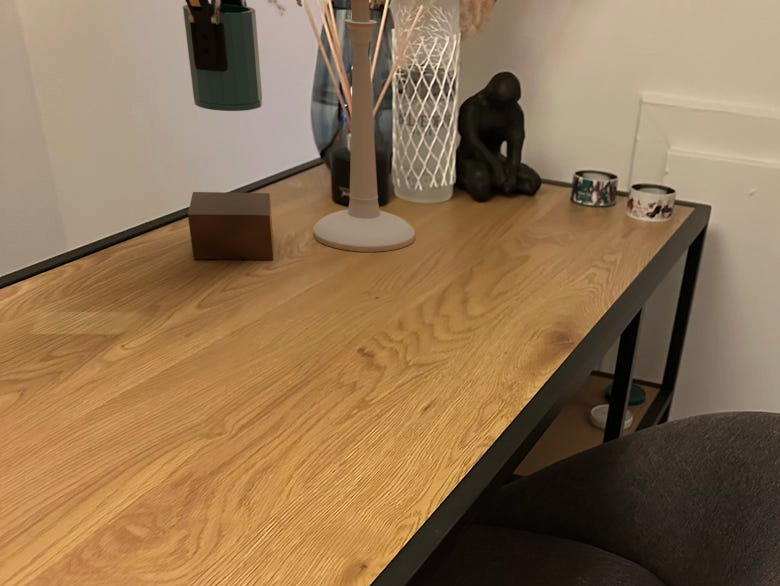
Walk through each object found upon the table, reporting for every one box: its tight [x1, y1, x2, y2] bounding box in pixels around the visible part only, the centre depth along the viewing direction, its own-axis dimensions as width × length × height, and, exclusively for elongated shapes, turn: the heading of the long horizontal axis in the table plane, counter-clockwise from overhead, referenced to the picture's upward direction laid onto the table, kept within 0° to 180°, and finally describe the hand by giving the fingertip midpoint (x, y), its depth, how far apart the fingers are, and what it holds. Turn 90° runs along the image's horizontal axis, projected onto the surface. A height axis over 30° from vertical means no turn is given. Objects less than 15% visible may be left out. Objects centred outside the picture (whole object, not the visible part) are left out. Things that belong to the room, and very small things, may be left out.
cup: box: [182, 2, 263, 112], centre depth 97 cm, size 7×7×8 cm
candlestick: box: [312, 0, 416, 253], centre depth 109 cm, size 13×13×30 cm
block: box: [187, 191, 274, 261], centre depth 110 cm, size 9×9×5 cm
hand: (223, 62), depth 97 cm, fingers closed on cup, 7 cm apart
